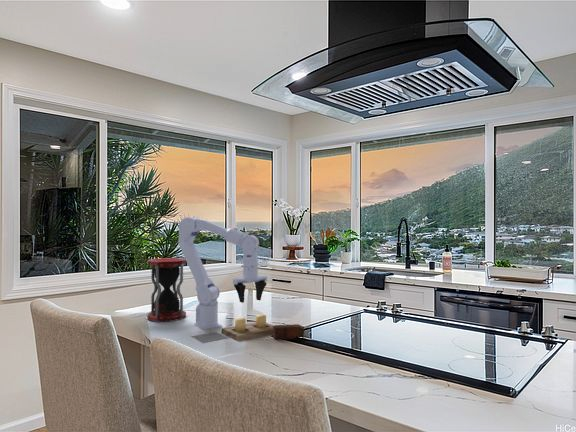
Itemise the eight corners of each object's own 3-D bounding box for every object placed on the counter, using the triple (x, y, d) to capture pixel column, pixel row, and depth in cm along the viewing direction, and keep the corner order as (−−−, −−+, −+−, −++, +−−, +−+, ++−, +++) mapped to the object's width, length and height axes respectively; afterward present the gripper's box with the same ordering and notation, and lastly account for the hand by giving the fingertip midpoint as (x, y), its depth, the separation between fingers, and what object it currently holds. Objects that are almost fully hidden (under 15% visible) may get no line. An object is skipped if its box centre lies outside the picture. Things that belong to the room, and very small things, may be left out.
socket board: (221, 333, 153) (221, 328, 153) (262, 326, 164) (262, 321, 164) (237, 341, 144) (237, 335, 144) (279, 333, 155) (279, 327, 155)
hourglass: (139, 320, 174) (139, 260, 174) (161, 312, 189) (162, 257, 189) (172, 323, 169) (172, 261, 169) (193, 314, 184) (193, 258, 184)
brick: (275, 341, 145) (275, 327, 145) (272, 338, 148) (272, 325, 148) (304, 339, 148) (304, 326, 148) (300, 336, 151) (300, 323, 151)
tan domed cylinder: (253, 331, 157) (253, 315, 157) (262, 329, 159) (262, 314, 160) (259, 333, 154) (259, 317, 154) (268, 331, 156) (268, 315, 156)
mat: (190, 337, 149) (190, 336, 149) (216, 332, 155) (216, 331, 155) (202, 343, 141) (202, 343, 141) (228, 338, 147) (228, 338, 147)
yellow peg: (232, 335, 152) (232, 318, 152) (242, 333, 154) (242, 317, 154) (238, 337, 148) (238, 320, 148) (247, 335, 151) (248, 319, 151)
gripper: (239, 268, 155) (239, 305, 155) (271, 266, 163) (271, 300, 163) (230, 266, 160) (230, 302, 160) (261, 264, 169) (261, 297, 169)
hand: (250, 301), depth 162 cm, fingers open, 7 cm apart
